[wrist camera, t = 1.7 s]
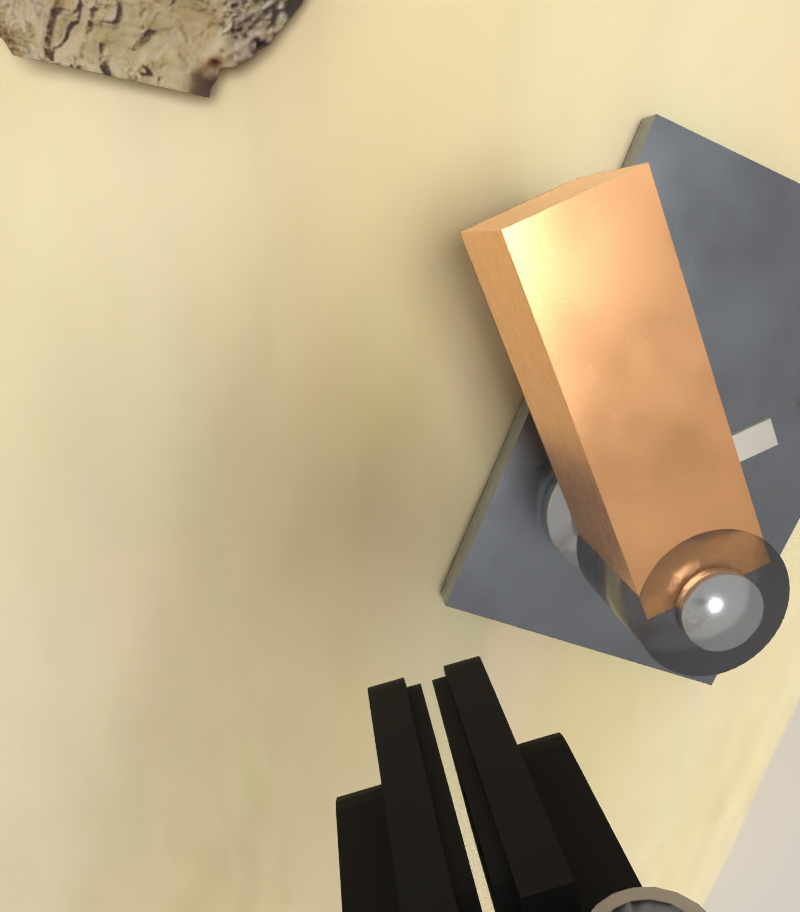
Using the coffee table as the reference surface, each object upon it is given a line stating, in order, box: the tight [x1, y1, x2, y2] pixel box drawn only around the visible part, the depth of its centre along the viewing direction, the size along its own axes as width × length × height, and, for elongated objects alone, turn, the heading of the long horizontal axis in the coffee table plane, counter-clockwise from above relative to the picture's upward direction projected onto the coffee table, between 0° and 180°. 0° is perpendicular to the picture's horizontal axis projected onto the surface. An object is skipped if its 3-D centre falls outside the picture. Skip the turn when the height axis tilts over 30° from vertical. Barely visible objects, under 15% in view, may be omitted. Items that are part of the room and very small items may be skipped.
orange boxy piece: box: [460, 163, 790, 676], centre depth 23 cm, size 15×5×6 cm, turn 24°
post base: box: [441, 114, 800, 685], centre depth 29 cm, size 20×13×4 cm
